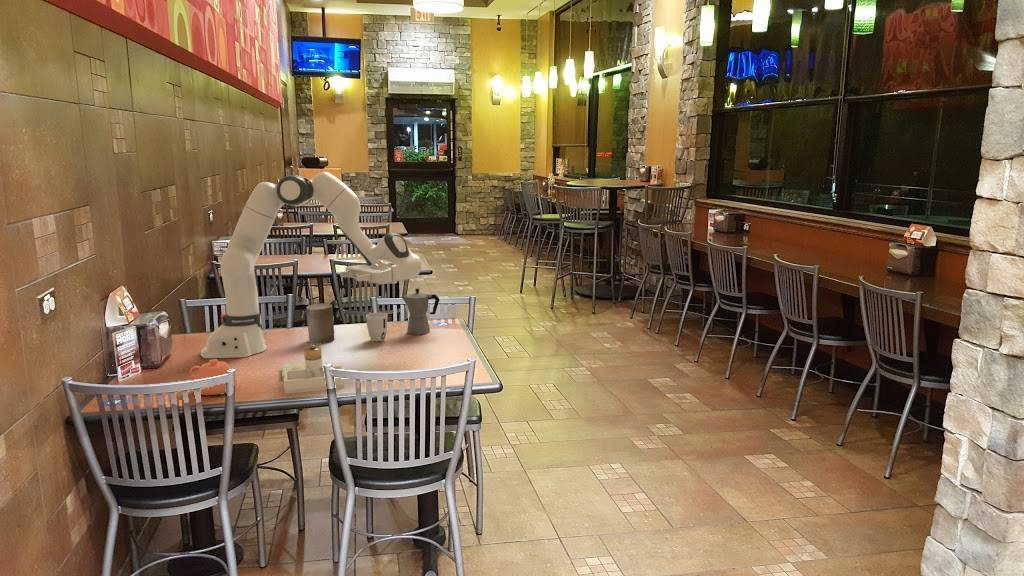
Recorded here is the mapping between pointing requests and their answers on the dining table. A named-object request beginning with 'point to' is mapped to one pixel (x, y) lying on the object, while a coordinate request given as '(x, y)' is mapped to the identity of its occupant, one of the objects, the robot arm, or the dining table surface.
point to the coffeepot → (419, 311)
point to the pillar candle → (320, 323)
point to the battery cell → (313, 361)
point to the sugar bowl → (212, 370)
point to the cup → (377, 326)
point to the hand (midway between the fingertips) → (348, 276)
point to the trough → (307, 381)
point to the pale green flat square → (292, 367)
